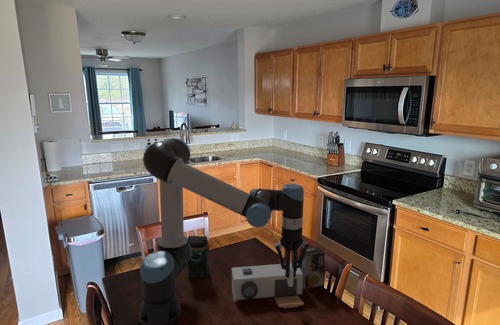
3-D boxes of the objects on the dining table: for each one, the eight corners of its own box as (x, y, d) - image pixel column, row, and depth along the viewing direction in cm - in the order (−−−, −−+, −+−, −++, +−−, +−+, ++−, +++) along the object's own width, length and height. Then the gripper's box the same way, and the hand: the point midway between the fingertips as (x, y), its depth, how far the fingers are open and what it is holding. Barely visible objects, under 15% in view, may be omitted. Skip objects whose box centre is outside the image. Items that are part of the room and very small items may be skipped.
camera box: (234, 306, 130) (234, 280, 128) (231, 289, 141) (231, 265, 138) (303, 299, 134) (304, 274, 132) (295, 283, 145) (296, 260, 143)
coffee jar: (210, 270, 156) (209, 233, 152) (207, 279, 148) (206, 241, 144) (190, 269, 157) (188, 232, 153) (185, 278, 149) (184, 240, 145)
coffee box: (316, 279, 148) (317, 245, 145) (323, 287, 142) (325, 252, 139) (297, 283, 145) (298, 248, 142) (304, 291, 139) (305, 255, 136)
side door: (274, 301, 133) (279, 309, 125) (274, 297, 133) (278, 305, 126) (297, 298, 135) (303, 306, 127) (297, 295, 135) (303, 302, 127)
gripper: (276, 231, 117) (275, 291, 122) (312, 229, 119) (309, 288, 124) (272, 223, 124) (271, 280, 129) (306, 221, 126) (303, 277, 131)
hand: (290, 284), depth 126 cm, fingers closed
